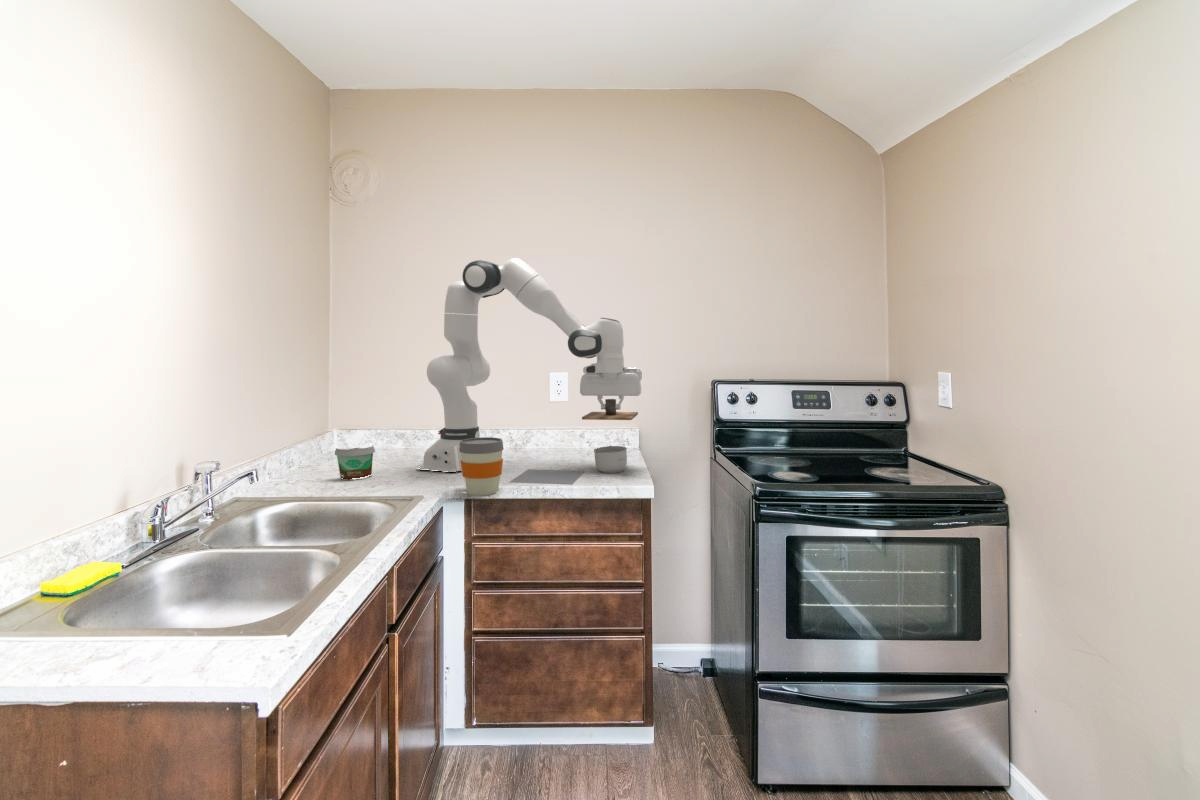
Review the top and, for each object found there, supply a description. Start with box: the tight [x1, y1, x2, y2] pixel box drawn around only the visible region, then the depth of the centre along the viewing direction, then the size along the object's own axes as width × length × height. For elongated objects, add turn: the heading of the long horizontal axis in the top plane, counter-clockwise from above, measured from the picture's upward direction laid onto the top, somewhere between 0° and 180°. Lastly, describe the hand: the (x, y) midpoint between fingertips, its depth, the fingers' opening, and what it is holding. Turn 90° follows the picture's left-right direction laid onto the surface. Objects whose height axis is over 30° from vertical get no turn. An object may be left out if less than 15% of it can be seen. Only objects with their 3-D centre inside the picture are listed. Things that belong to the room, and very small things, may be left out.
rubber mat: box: [508, 468, 587, 486], centre depth 197 cm, size 20×20×1 cm
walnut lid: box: [581, 398, 639, 421], centre depth 204 cm, size 16×16×6 cm
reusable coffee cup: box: [459, 436, 504, 497], centre depth 178 cm, size 13×12×15 cm
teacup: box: [593, 445, 628, 474], centre depth 206 cm, size 14×11×8 cm
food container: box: [334, 445, 376, 480], centre depth 198 cm, size 12×6×10 cm, turn 118°
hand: (610, 409), depth 204 cm, fingers closed on walnut lid, 3 cm apart
